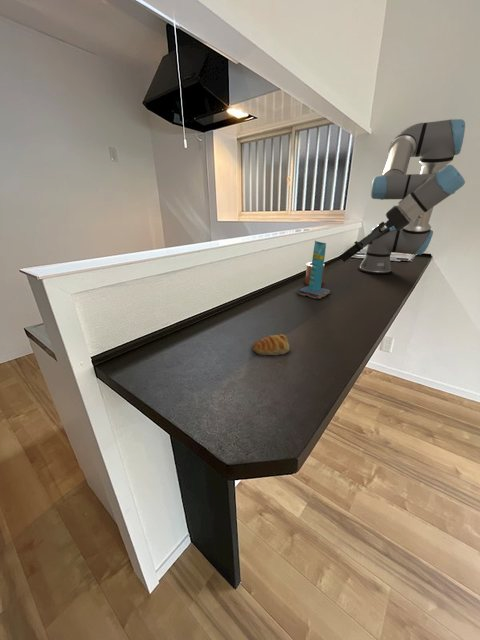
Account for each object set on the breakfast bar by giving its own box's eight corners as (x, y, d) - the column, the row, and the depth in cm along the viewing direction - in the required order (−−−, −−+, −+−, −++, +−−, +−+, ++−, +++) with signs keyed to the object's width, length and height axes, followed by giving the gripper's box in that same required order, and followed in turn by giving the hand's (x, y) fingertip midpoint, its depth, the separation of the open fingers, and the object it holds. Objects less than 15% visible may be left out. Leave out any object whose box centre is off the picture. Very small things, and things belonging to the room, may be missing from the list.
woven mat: (331, 293, 111) (331, 289, 110) (318, 300, 104) (319, 295, 103) (308, 288, 117) (309, 283, 116) (296, 294, 110) (296, 289, 109)
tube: (304, 287, 112) (309, 240, 103) (313, 285, 113) (319, 239, 105) (315, 292, 105) (321, 243, 97) (325, 291, 107) (332, 242, 99)
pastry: (258, 359, 66) (258, 346, 65) (248, 346, 72) (249, 334, 70) (291, 353, 69) (292, 340, 67) (279, 341, 75) (280, 329, 73)
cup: (308, 280, 128) (310, 261, 124) (324, 282, 124) (327, 263, 120) (302, 284, 122) (304, 264, 118) (318, 287, 118) (321, 267, 114)
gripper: (408, 226, 74) (344, 271, 88) (413, 219, 93) (360, 257, 107) (391, 205, 74) (330, 253, 88) (400, 202, 93) (348, 242, 107)
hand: (346, 255), depth 98 cm, fingers open, 13 cm apart
